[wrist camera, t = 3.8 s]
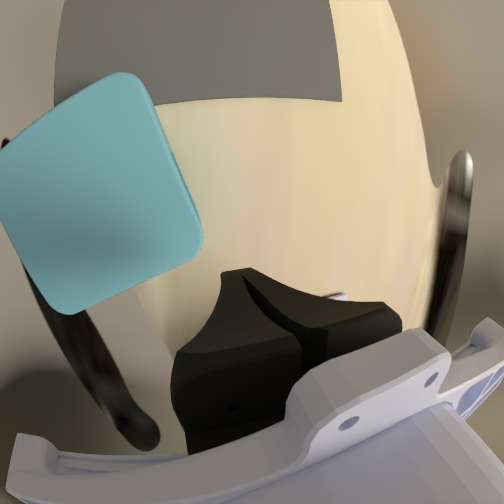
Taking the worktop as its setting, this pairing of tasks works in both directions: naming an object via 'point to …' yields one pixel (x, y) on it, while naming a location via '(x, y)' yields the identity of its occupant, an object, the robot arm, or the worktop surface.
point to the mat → (201, 48)
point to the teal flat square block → (96, 196)
